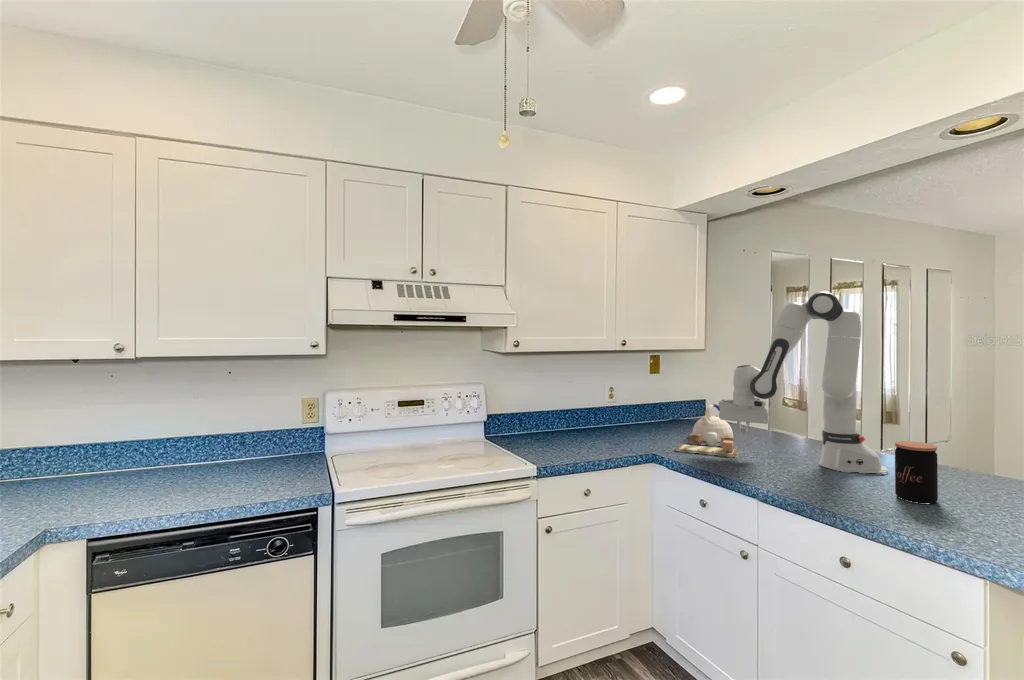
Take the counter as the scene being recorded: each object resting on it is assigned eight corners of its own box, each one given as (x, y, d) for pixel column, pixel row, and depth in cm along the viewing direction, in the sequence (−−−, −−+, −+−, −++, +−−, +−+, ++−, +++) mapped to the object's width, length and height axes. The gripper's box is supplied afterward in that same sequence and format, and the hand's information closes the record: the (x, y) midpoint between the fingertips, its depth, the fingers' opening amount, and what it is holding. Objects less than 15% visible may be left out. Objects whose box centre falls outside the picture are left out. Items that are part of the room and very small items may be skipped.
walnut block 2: (731, 446, 235) (731, 436, 235) (733, 448, 230) (733, 438, 230) (720, 445, 236) (720, 435, 236) (722, 448, 231) (722, 437, 231)
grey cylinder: (718, 444, 238) (717, 432, 238) (716, 446, 234) (716, 434, 234) (707, 443, 241) (707, 431, 241) (705, 445, 236) (705, 433, 236)
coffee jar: (886, 494, 162) (886, 441, 162) (916, 493, 163) (916, 440, 163) (915, 506, 151) (915, 448, 151) (947, 504, 152) (946, 447, 152)
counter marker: (733, 449, 220) (733, 440, 220) (731, 453, 214) (731, 444, 214) (723, 448, 222) (723, 440, 222) (722, 452, 216) (721, 443, 216)
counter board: (738, 452, 221) (738, 449, 221) (736, 457, 213) (736, 454, 213) (680, 447, 234) (679, 443, 234) (675, 451, 226) (675, 448, 226)
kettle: (684, 438, 254) (683, 404, 254) (703, 432, 268) (702, 400, 267) (722, 444, 239) (721, 408, 238) (740, 438, 252) (740, 403, 252)
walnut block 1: (703, 444, 240) (703, 434, 240) (699, 446, 237) (699, 435, 236) (693, 442, 244) (693, 433, 244) (689, 444, 240) (689, 434, 240)
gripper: (717, 399, 218) (717, 430, 218) (769, 403, 208) (768, 435, 208) (719, 398, 223) (719, 427, 224) (769, 401, 213) (768, 432, 214)
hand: (743, 431), depth 216 cm, fingers closed
